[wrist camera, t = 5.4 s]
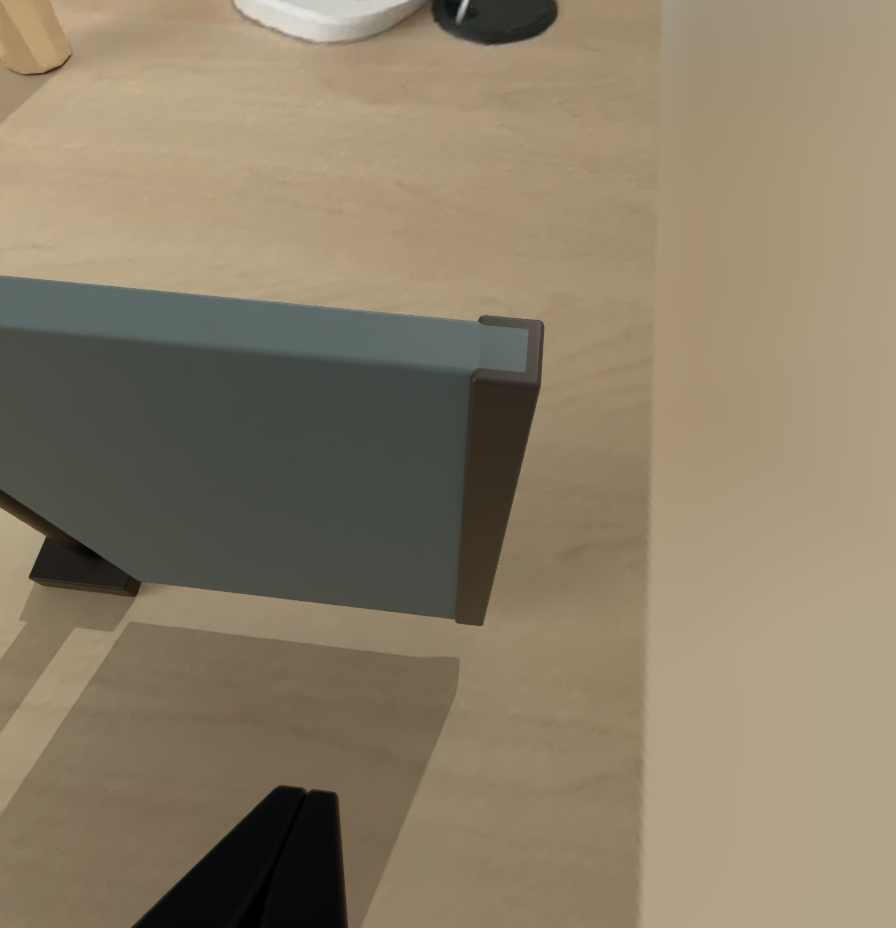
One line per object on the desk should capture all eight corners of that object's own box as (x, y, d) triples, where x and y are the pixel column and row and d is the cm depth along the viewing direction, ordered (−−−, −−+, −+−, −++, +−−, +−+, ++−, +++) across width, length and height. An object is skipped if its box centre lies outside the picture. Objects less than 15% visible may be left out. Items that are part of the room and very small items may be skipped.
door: (482, 626, 18) (541, 387, 7) (136, 585, 18) (-301, 302, 8) (486, 592, 18) (545, 318, 8) (147, 552, 19) (-250, 241, 8)
